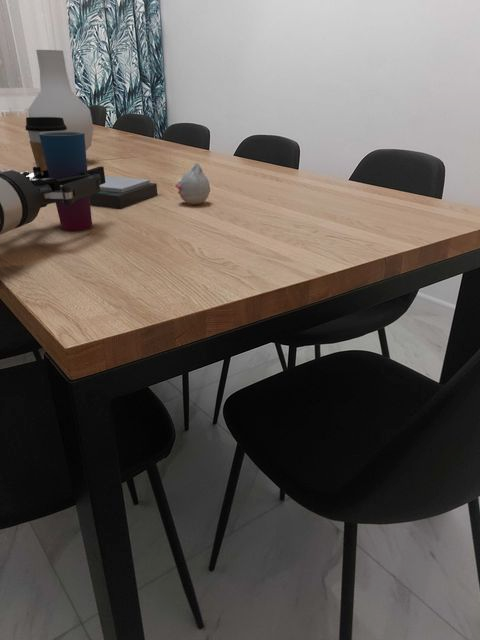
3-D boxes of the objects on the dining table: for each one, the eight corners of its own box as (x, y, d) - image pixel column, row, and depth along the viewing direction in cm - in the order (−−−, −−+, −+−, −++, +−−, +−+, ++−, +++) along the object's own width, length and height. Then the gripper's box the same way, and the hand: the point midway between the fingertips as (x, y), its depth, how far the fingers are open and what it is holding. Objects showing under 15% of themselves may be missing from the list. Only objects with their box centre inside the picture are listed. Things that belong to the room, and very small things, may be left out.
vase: (35, 160, 148) (14, 50, 134) (93, 158, 154) (78, 52, 140) (39, 169, 135) (16, 48, 121) (102, 166, 141) (86, 50, 127)
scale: (62, 201, 103) (59, 185, 101) (104, 189, 114) (102, 174, 113) (119, 208, 99) (117, 191, 97) (157, 195, 110) (156, 179, 108)
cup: (56, 223, 89) (39, 131, 81) (96, 220, 91) (83, 130, 83) (55, 233, 83) (37, 135, 76) (98, 230, 85) (84, 135, 78)
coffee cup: (33, 192, 110) (18, 117, 103) (41, 184, 117) (28, 114, 110) (72, 192, 111) (61, 117, 104) (79, 184, 118) (68, 114, 111)
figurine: (174, 201, 105) (171, 161, 101) (206, 199, 107) (205, 159, 103) (179, 208, 100) (177, 166, 96) (214, 206, 102) (212, 164, 98)
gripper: (-55, 225, 71) (39, 192, 91) (68, 235, 68) (138, 198, 88) (-71, 169, 67) (30, 148, 87) (59, 177, 64) (133, 153, 84)
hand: (84, 173), depth 87 cm, fingers closed on cup, 6 cm apart
